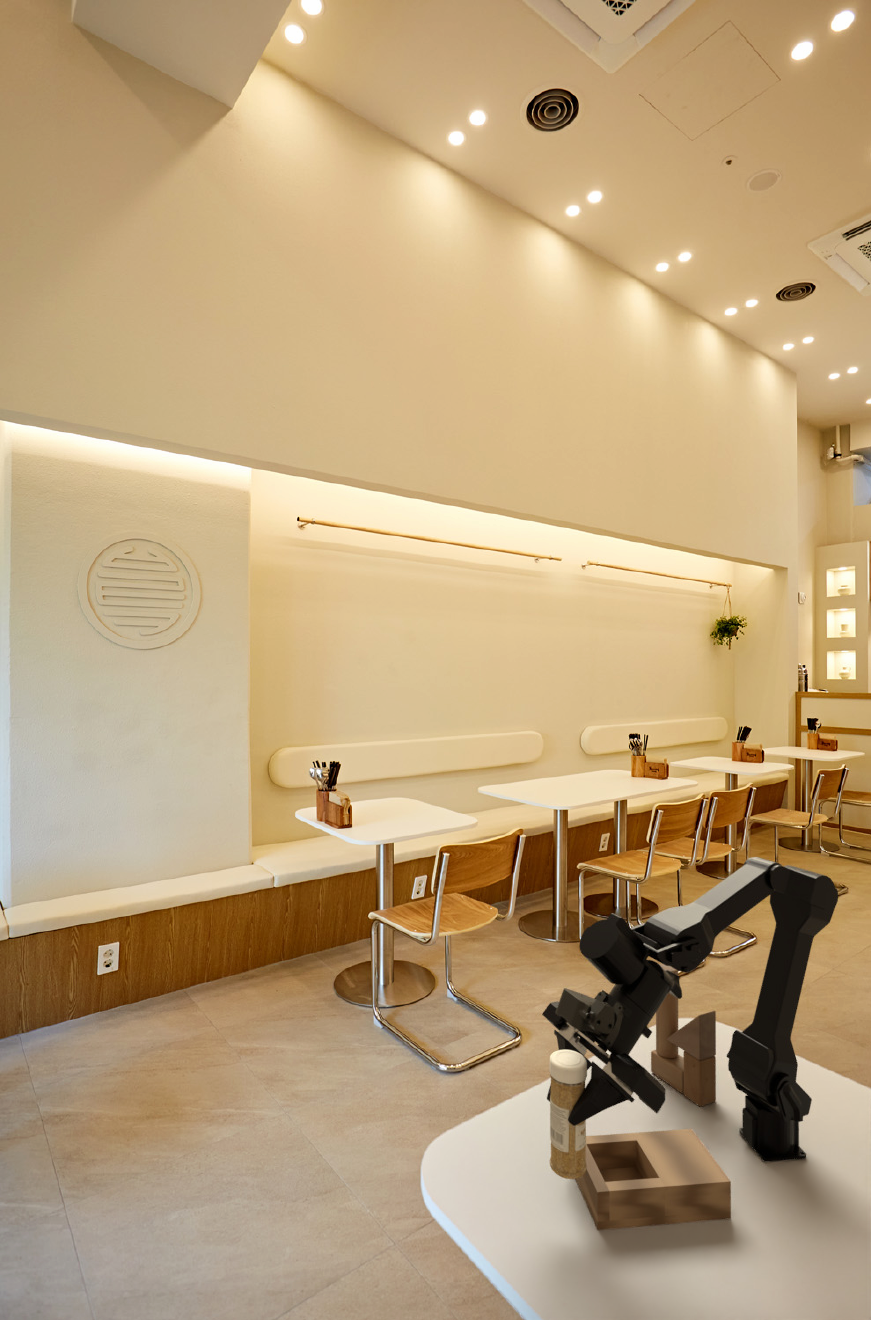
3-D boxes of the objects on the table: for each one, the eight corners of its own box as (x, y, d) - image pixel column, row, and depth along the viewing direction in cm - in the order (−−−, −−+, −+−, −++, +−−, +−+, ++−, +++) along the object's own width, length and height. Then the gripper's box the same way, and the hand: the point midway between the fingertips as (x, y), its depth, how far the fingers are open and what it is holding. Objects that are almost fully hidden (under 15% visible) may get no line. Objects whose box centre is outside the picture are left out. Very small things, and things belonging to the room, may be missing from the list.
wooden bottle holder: (691, 1162, 95) (691, 1128, 95) (730, 1218, 85) (730, 1181, 85) (571, 1171, 93) (571, 1137, 93) (597, 1230, 83) (597, 1192, 83)
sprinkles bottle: (593, 1178, 84) (593, 1066, 84) (557, 1184, 82) (558, 1070, 83) (576, 1152, 88) (577, 1045, 88) (543, 1157, 87) (543, 1050, 87)
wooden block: (700, 1108, 107) (699, 990, 108) (650, 1072, 117) (650, 964, 117) (717, 1102, 109) (716, 986, 109) (666, 1067, 118) (666, 961, 119)
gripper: (553, 941, 96) (483, 1038, 91) (644, 998, 79) (563, 1122, 74) (600, 988, 99) (534, 1084, 94) (698, 1053, 82) (623, 1175, 77)
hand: (559, 1112), depth 85 cm, fingers closed on sprinkles bottle, 4 cm apart
